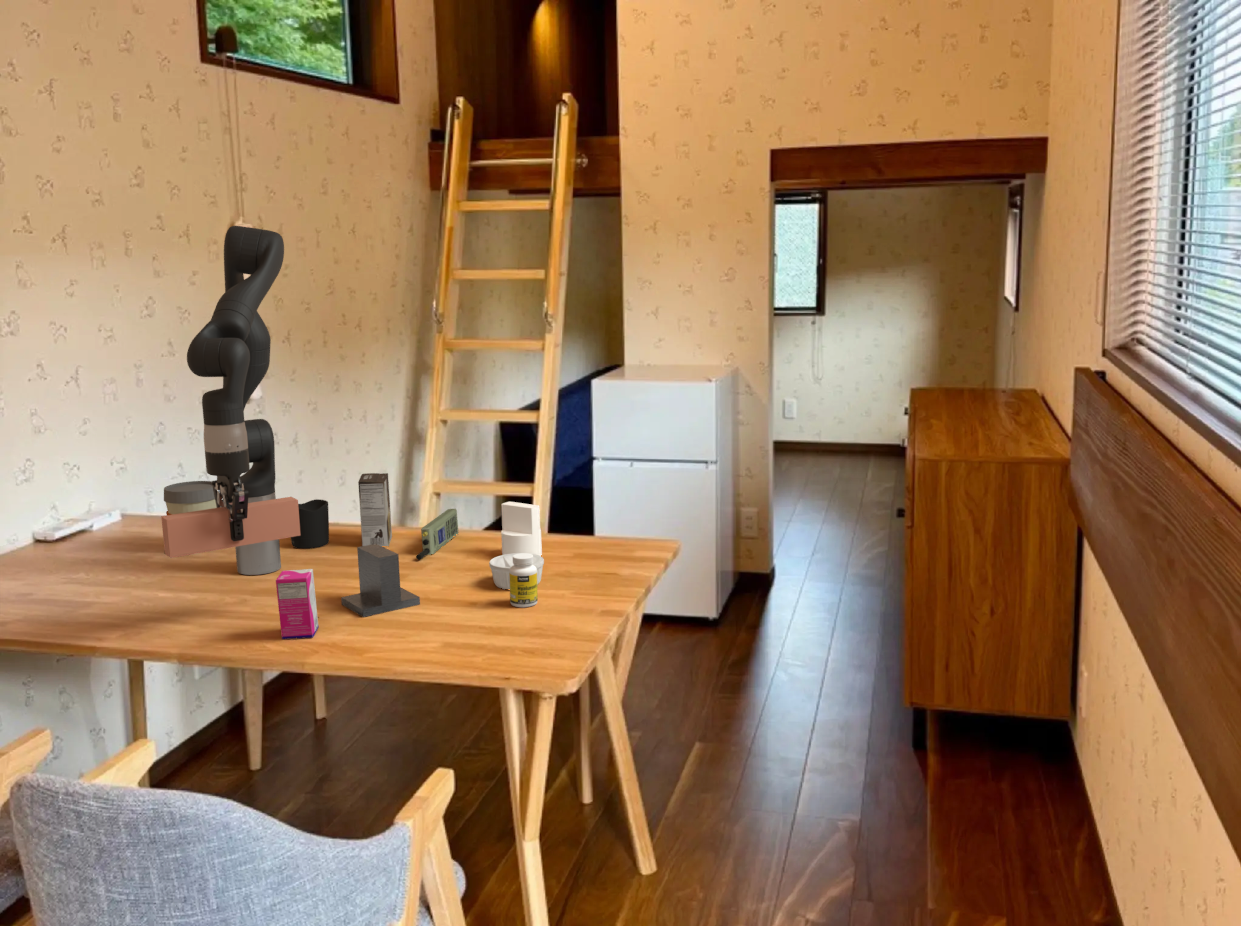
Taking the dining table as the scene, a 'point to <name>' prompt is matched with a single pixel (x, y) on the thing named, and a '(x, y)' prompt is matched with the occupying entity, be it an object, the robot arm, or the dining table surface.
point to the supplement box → (297, 604)
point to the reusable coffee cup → (189, 497)
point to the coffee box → (375, 509)
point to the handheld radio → (438, 532)
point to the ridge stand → (378, 583)
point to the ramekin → (502, 567)
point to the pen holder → (312, 525)
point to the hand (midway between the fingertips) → (233, 537)
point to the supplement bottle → (523, 581)
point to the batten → (214, 527)
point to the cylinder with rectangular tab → (521, 528)
